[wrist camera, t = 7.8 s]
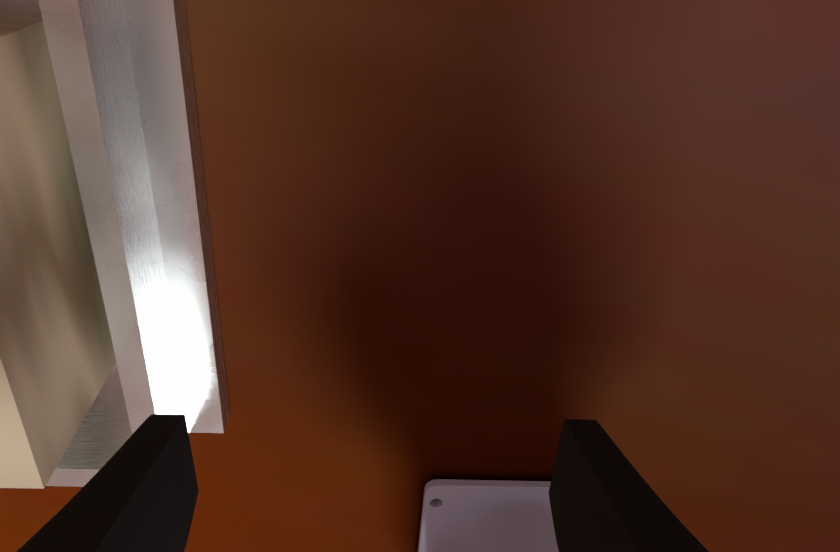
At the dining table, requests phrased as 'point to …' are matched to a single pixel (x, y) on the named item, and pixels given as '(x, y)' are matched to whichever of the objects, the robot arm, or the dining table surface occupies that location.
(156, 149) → the door track
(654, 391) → the dining table surface
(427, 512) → the robot arm
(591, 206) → the dining table surface
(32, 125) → the door panel
